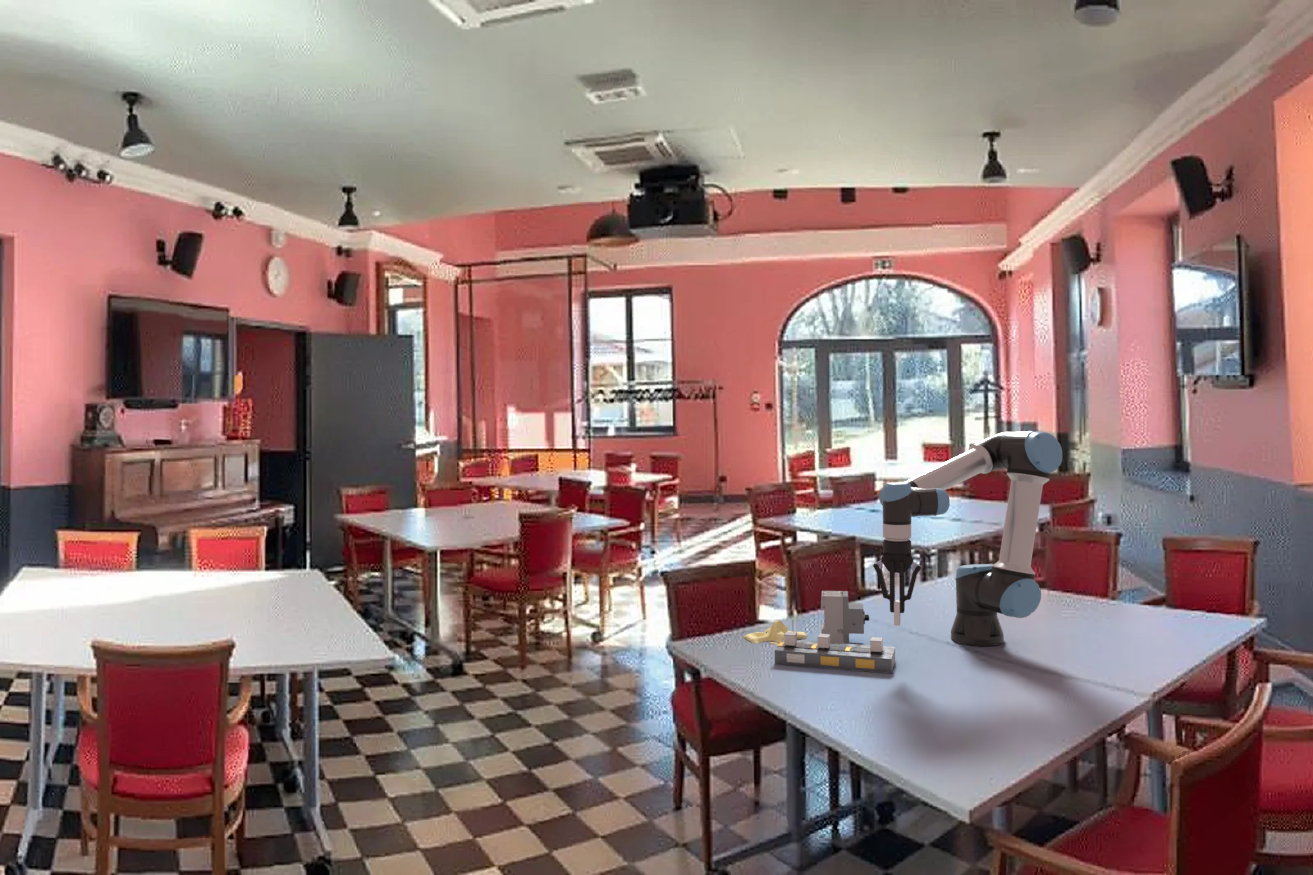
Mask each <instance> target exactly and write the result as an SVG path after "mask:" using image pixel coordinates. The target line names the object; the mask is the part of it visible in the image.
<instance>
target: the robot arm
mask: <svg viewBox="0 0 1313 875" xmlns="http://www.w3.org/2000/svg"><path fill="white" fill-rule="evenodd" d="M1062 461H1063V449H1062V446H1061V444H1060V442H1059V441H1058V439H1057V438H1056V437H1055V436H1054V435H1053V434H1051V433H1049V432H1046V431H1039V430H1038V431H1037V430H1027V431H1025V430H1022V431H1021V430H1020V431H1019V430H1006V431H1002V432H999V433H995V434H994V435H990V436H988V437H987V438H984V439H982V440H979V441H977V442H976V443H973V444H971V446H970V445H969V448H968V450H967V451H964V452H963V453H960V454H959V455H957V456H954V457H952V458H951V459H950V458H949V460H947V461H944V462H942V463H940V464H937V465H936V466H933V467H932V468H930V469H928V470H925V471H923V472H921V473H919V474H917V475H914V476H913V477H911V478H909V479H907V480H904V481H902V482H896V481H895V482H892V481H891V482H885V484H883V486H882V488H881V489H880V491H879V494H878V498H879V503H880V505H881V506H882V537H883V538H884V539H883V540H882V556H881V557H880V560H879V561H877V562H874V563H873V564H872V567H873V569H874V571H876V573H877V578H878V582H879V586H880V590H881V594H882V598H883V599H887V600H888V601H889V612H890V613H894V614H893V626H898V627H900V626H901V614H904V613H905V610H906V608H905V607H906V606H905V602H906V601H910V600H911V599H912V596H913V592H914V588H915V584H916V579H917V577H918V573H919V572H920V571H921V570H922V564H918V563H917V562H915V561H914V558H913V556H912V540H911V538H912V518H913V517H922V516H923V517H927V516H934V517H936V516H940V515H944V514H946V513H947V512H948V510H949V508H950V496H949V494H948V492H947V491H946V490H948V489H950V488H952V487H954V486H956V485H958V484H961V483H962V482H965V481H966V480H969V479H971V478H973V477H975V476H977V475H979V474H983V475H984V474H986V475H987V474H989V473H990V472H993V471H998V470H1006V475H1007V476H1008V478H1009V479H1010V488H1009V494H1008V500H1007V507H1006V512H1005V520H1004V524H1003V532H1002V538H1001V544H1000V545H1001V546H1000V551H999V558H998V560H997V561H996V563H994V564H992V563H990V564H989V563H987V564H986V563H980V564H979V563H974V564H966V565H965V564H964V565H960V566H958V567H957V568H956V572H955V573H956V574H955V575H956V577H955V588H956V589H955V596H956V597H955V598H956V615H955V616H954V620H953V624H952V626H951V629H950V639H951V640H952V641H954V642H956V643H959V644H963V645H968V646H978V647H990V646H998V645H1001V644H1003V643H1004V641H1005V640H1004V639H1005V637H1004V635H1005V634H1004V632H1003V629H1002V625H1001V623H1000V620H999V617H998V614H1001V615H1004V616H1006V617H1010V618H1016V619H1022V618H1027V617H1029V616H1031V614H1032V613H1034V612H1035V611H1036V610H1037V609H1038V607H1039V606H1040V603H1041V600H1042V590H1041V588H1040V585H1039V584H1038V582H1037V581H1035V576H1036V572H1035V571H1034V570H1033V568H1032V559H1033V553H1034V545H1035V539H1036V533H1037V527H1038V521H1039V513H1040V507H1041V501H1042V495H1043V494H1042V493H1043V487H1044V485H1045V484H1046V483H1048V482H1049V481H1050V479H1051V474H1052V473H1053V472H1055V471H1057V470H1058V468H1059V467H1060V466H1061V465H1062ZM883 565H884V567H883ZM910 567H911V571H912V574H911V577H910V582H909V585H908V590H907V593H905V588H906V587H905V584H906V583H905V582H906V581H905V579H906V578H905V574H906V572H907V571H908V570H909V569H910ZM883 568H885V569H886V570H887V571H888V572H889V592H888V588H887V585H886V580H885V576H884V573H883ZM896 573H897V574H898V578H899V580H898V581H899V585H898V586H899V589H898V590H899V599H896Z"/></svg>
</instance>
